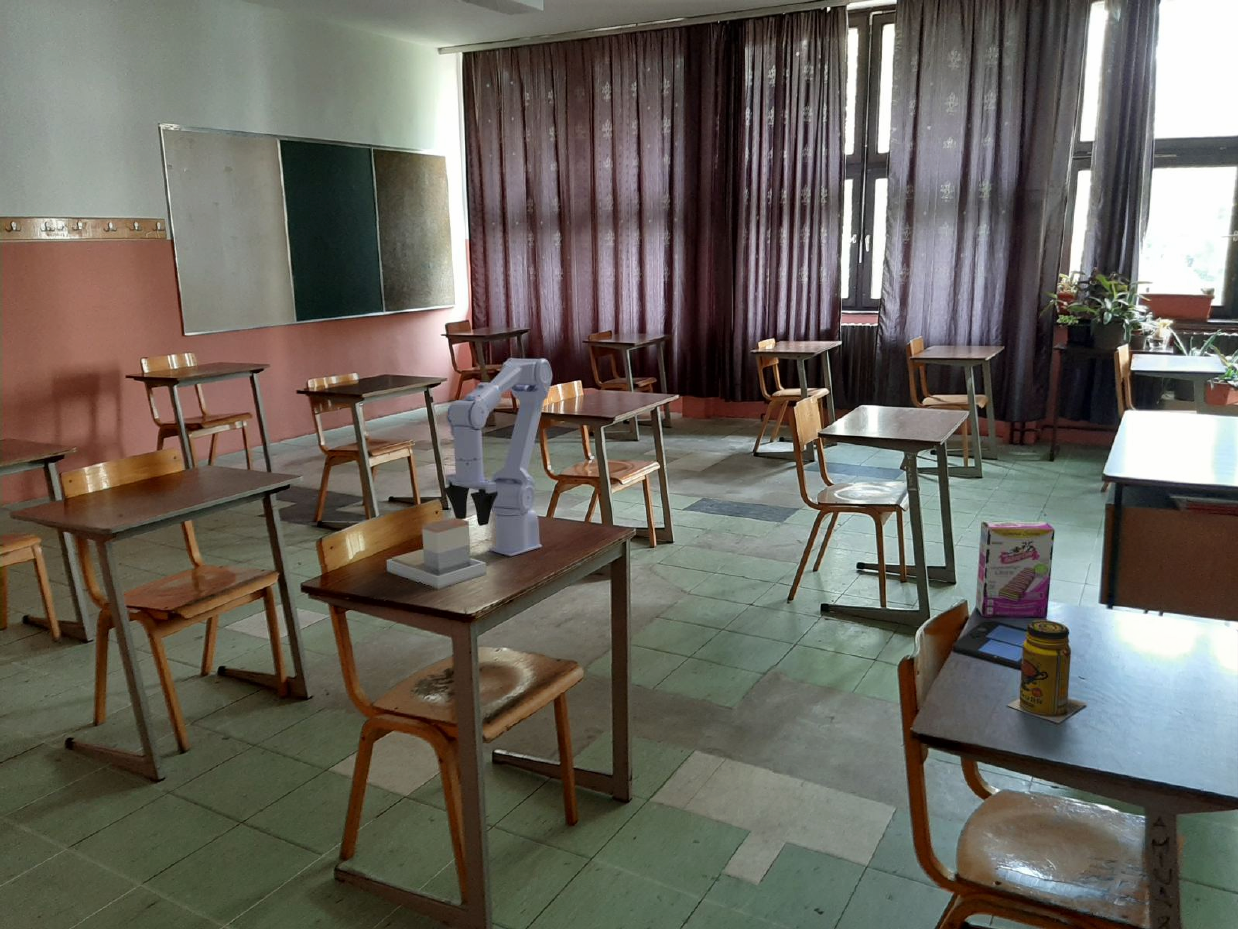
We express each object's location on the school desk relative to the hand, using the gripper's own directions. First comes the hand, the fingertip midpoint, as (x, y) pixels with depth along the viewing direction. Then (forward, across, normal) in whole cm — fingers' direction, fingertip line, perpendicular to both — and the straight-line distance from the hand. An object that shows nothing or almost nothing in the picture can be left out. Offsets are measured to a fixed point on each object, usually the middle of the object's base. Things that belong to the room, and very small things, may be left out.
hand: (472, 521), depth 194 cm
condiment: (+11, +112, +12) cm, 114 cm away
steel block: (+10, 0, -7) cm, 12 cm away
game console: (+11, +102, +28) cm, 106 cm away
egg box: (+4, 0, -7) cm, 8 cm away
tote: (+10, -4, -6) cm, 13 cm away
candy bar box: (+10, +96, +44) cm, 106 cm away
